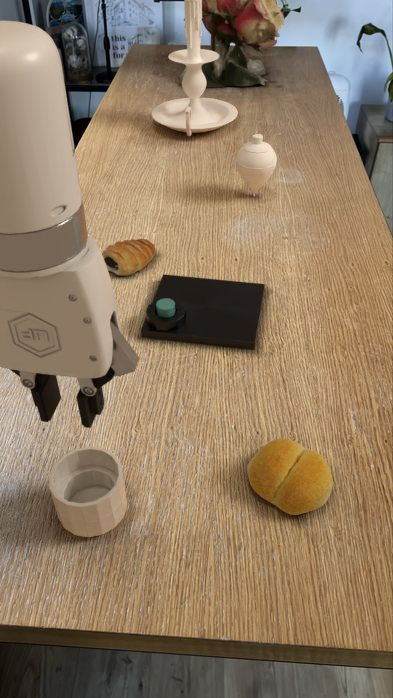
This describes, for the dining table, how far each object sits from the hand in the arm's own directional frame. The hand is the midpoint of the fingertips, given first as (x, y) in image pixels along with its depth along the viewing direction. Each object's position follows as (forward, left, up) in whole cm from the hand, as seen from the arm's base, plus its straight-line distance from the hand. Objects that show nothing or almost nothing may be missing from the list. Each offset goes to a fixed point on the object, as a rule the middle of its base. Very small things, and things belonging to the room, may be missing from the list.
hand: (71, 411), depth 52 cm
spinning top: (+9, +73, -15) cm, 75 cm away
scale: (+6, +35, -15) cm, 39 cm away
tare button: (+1, +31, -13) cm, 33 cm away
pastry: (-9, +46, -15) cm, 49 cm away
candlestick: (-9, +105, -15) cm, 107 cm away
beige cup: (0, 0, -15) cm, 15 cm away
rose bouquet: (-7, +148, -15) cm, 149 cm away
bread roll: (+20, +7, -15) cm, 26 cm away
